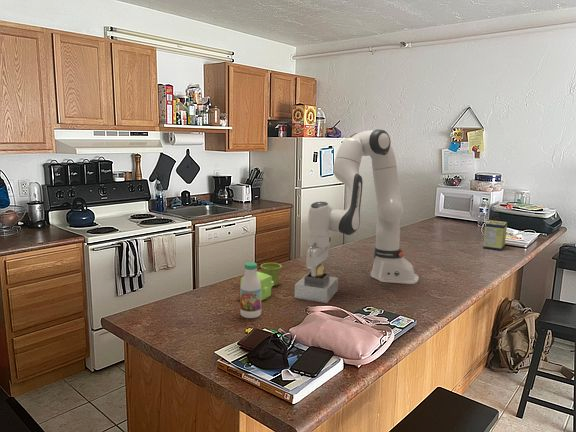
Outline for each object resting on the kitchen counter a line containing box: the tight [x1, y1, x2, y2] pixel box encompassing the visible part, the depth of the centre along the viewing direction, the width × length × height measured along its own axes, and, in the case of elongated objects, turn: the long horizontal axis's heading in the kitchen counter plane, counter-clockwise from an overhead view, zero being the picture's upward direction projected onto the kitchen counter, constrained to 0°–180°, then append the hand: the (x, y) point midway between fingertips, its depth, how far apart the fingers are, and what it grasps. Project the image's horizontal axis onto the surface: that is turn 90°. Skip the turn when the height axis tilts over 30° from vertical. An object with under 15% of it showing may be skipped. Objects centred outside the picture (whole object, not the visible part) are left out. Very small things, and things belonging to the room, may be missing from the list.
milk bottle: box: [239, 261, 262, 319], centre depth 169 cm, size 8×8×20 cm
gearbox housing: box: [294, 271, 339, 304], centre depth 193 cm, size 14×16×8 cm
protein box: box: [482, 219, 508, 252], centre depth 279 cm, size 10×16×16 cm
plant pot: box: [260, 262, 282, 287], centre depth 205 cm, size 9×9×9 cm
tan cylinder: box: [311, 263, 324, 279], centre depth 192 cm, size 5×5×8 cm
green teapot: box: [239, 271, 275, 302], centre depth 187 cm, size 18×10×10 cm, turn 146°
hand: (317, 272), depth 192 cm, fingers open, 8 cm apart
